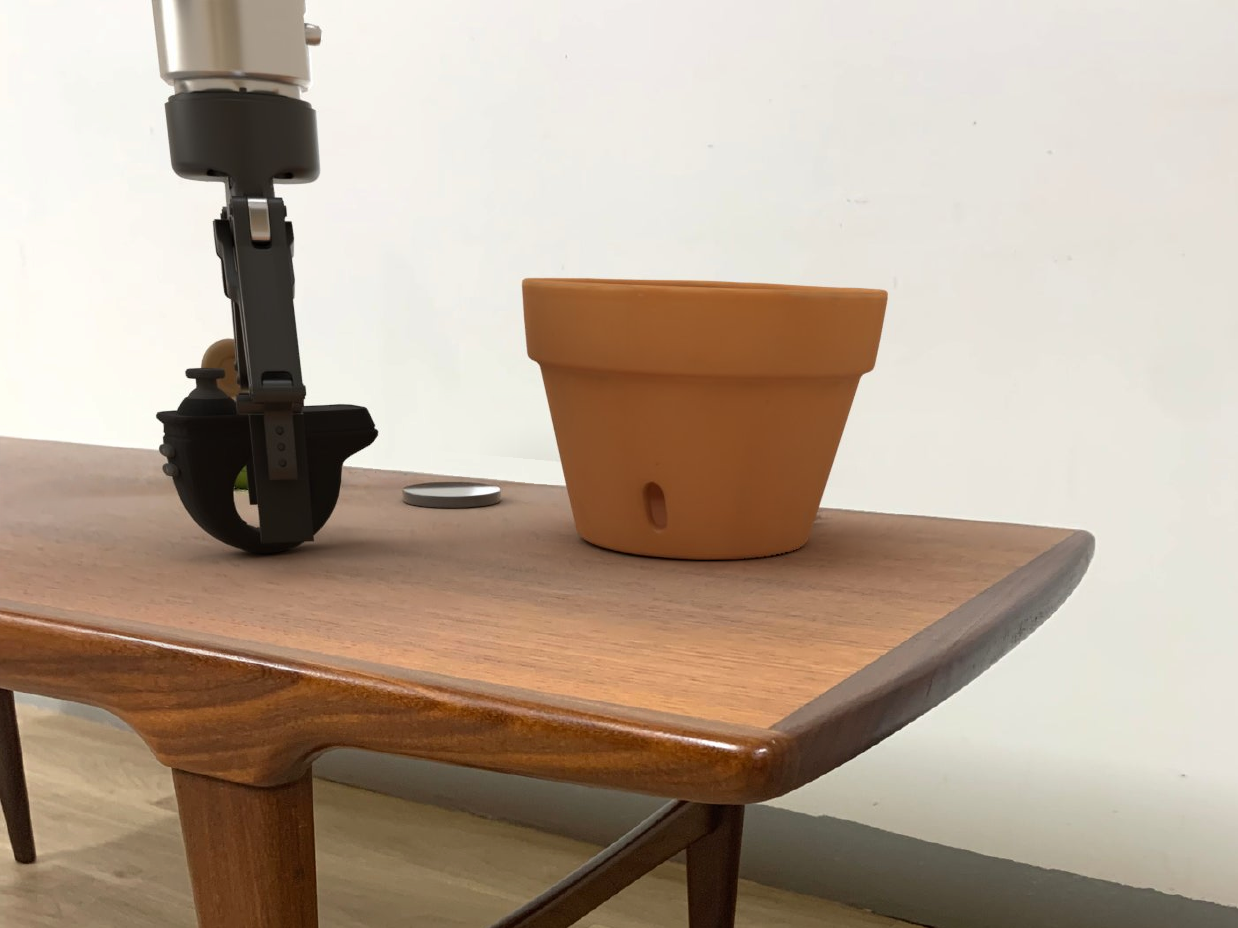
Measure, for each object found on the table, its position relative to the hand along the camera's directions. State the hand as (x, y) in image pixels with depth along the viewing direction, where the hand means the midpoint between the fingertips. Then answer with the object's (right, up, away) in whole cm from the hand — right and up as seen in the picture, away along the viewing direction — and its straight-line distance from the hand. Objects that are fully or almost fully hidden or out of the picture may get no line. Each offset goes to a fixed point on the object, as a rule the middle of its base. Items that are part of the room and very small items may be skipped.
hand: (279, 521), depth 76 cm
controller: (0, -2, +1) cm, 2 cm away
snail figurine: (-8, +8, +22) cm, 25 cm away
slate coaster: (+7, +6, +18) cm, 21 cm away
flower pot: (+24, 0, +6) cm, 25 cm away
